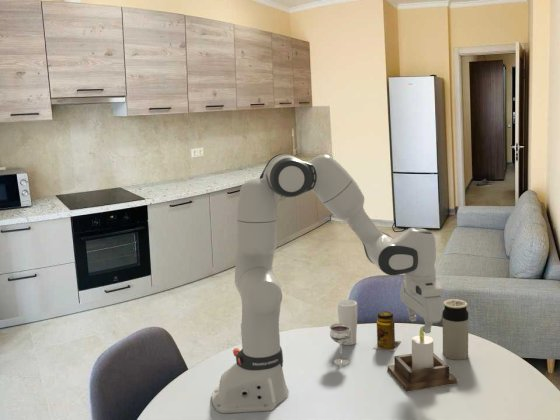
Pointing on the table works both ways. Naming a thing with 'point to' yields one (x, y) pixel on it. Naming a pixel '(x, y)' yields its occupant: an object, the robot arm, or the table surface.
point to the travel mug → (455, 329)
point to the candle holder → (420, 374)
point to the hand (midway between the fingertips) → (419, 326)
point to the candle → (422, 351)
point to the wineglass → (340, 339)
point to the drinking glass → (348, 318)
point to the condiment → (386, 332)
